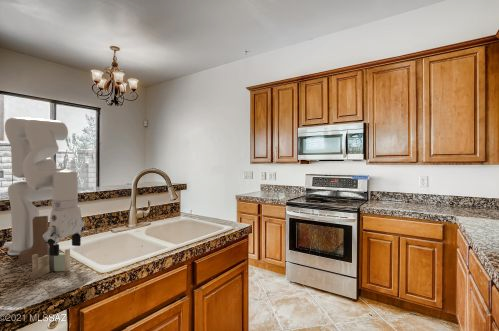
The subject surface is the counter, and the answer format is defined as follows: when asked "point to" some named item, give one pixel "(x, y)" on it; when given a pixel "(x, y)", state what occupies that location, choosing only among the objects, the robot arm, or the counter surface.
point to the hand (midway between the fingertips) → (65, 250)
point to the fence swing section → (62, 261)
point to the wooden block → (36, 240)
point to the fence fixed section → (42, 265)
